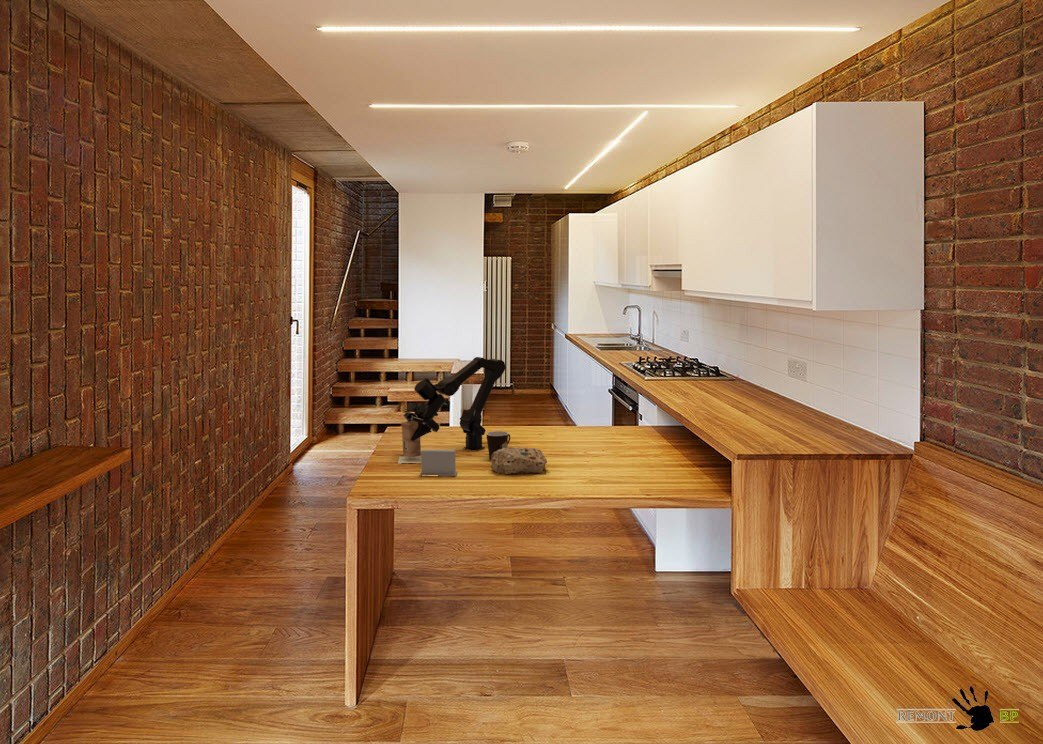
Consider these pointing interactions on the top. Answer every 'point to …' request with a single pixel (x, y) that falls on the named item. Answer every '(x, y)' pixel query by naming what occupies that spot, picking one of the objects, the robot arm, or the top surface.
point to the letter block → (410, 446)
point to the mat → (409, 459)
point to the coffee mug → (497, 441)
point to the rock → (518, 460)
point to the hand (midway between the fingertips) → (408, 439)
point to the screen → (438, 462)
